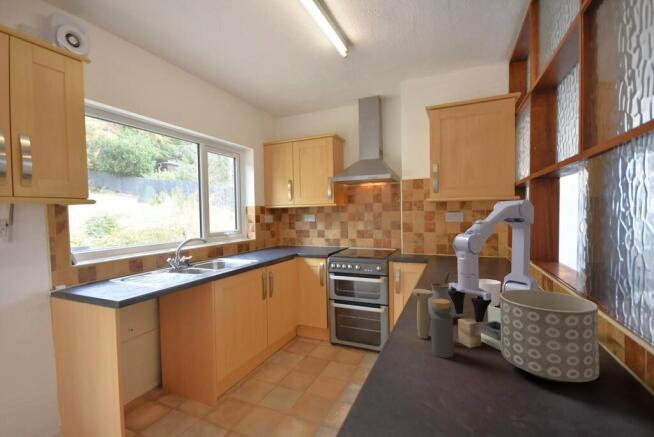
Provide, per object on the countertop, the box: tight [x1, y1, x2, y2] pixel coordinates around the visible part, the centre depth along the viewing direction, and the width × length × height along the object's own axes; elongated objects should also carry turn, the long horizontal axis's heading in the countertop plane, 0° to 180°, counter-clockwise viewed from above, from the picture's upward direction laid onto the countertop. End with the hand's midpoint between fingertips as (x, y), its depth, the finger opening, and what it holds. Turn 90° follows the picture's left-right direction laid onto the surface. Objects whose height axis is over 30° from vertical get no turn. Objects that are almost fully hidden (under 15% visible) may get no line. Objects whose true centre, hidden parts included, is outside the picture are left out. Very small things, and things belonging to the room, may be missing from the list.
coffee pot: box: [428, 272, 457, 320], centre depth 113 cm, size 21×12×15 cm, turn 144°
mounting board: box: [481, 306, 501, 351], centre depth 91 cm, size 13×16×7 cm
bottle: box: [430, 299, 455, 359], centre depth 81 cm, size 6×6×15 cm
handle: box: [411, 288, 433, 340], centre depth 92 cm, size 5×6×15 cm
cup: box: [479, 278, 502, 307], centre depth 125 cm, size 10×10×10 cm
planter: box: [499, 289, 600, 383], centre depth 70 cm, size 19×19×18 cm
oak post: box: [457, 317, 482, 349], centre depth 87 cm, size 4×4×7 cm
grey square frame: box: [481, 320, 501, 341], centre depth 91 cm, size 9×8×2 cm
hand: (469, 317), depth 87 cm, fingers open, 7 cm apart
